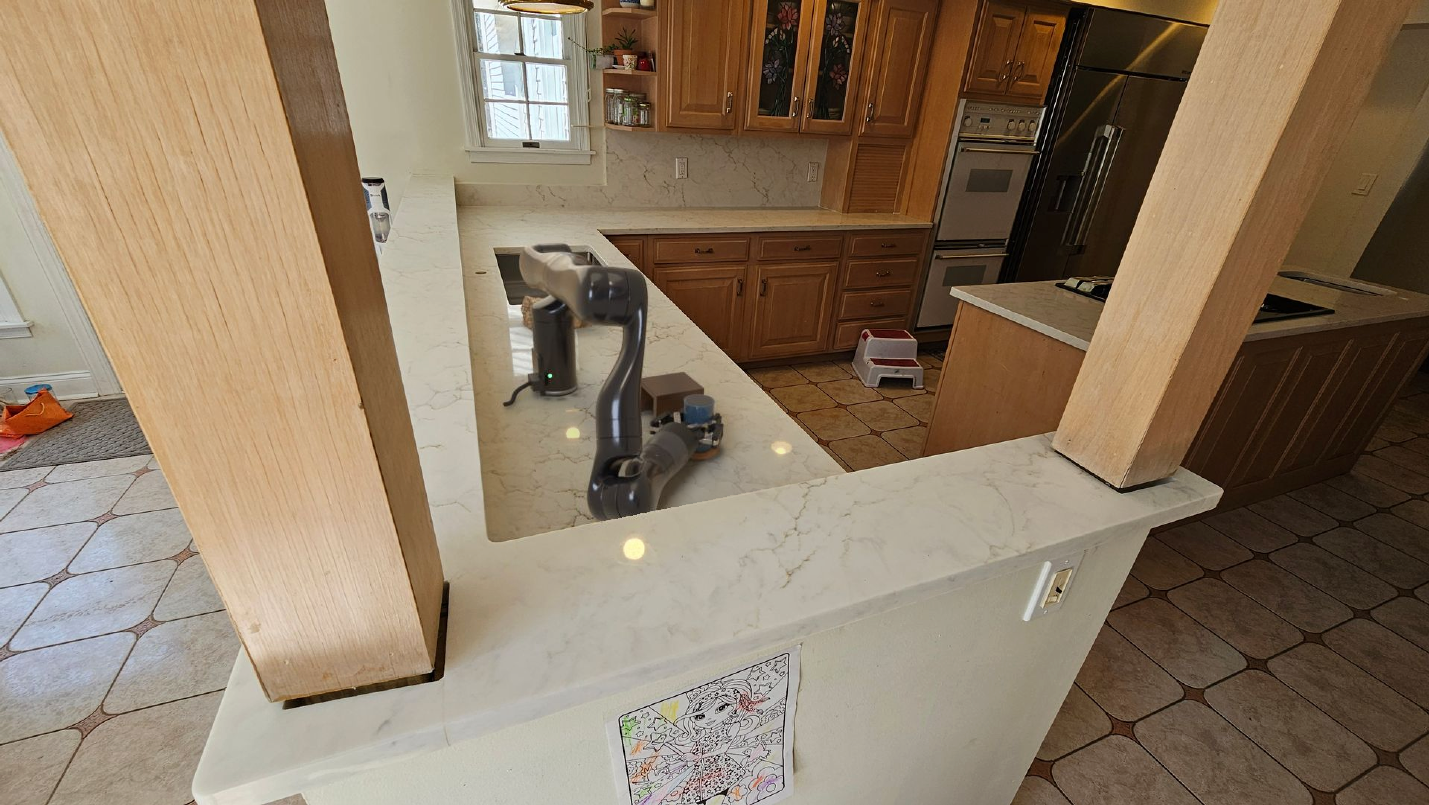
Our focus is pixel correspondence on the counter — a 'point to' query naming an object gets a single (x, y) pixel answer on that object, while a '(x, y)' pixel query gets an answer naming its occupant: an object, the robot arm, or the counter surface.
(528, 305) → the rock
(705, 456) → the coaster
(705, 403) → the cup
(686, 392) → the shelf
